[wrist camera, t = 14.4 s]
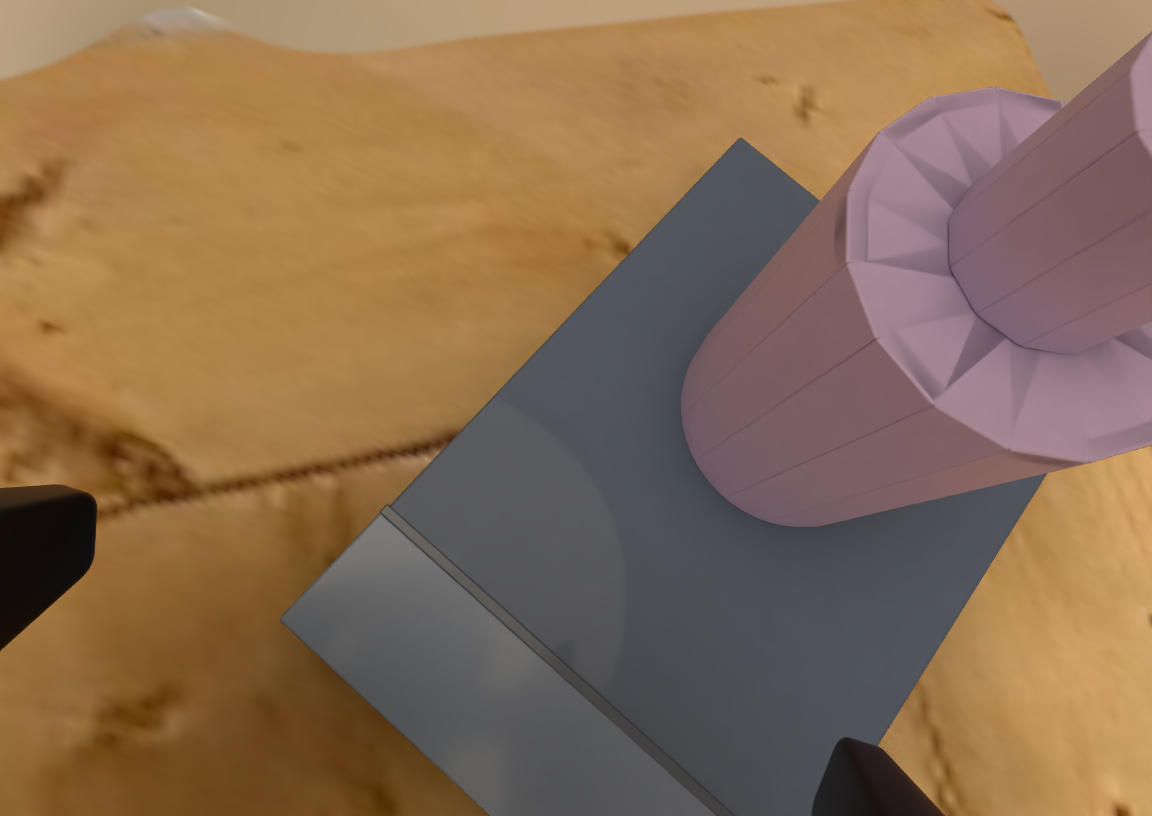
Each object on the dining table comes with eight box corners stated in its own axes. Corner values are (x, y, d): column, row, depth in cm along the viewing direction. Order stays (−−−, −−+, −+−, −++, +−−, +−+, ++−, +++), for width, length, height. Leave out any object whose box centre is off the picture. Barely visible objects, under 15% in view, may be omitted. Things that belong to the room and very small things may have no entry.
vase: (894, 542, 21) (1571, 438, 8) (670, 509, 20) (1009, 340, 7) (894, 329, 23) (1446, -37, 10) (689, 294, 22) (987, -146, 9)
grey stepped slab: (692, 986, 19) (712, 1023, 17) (293, 618, 20) (276, 619, 18) (1049, 426, 24) (1089, 414, 23) (723, 162, 25) (740, 132, 24)
